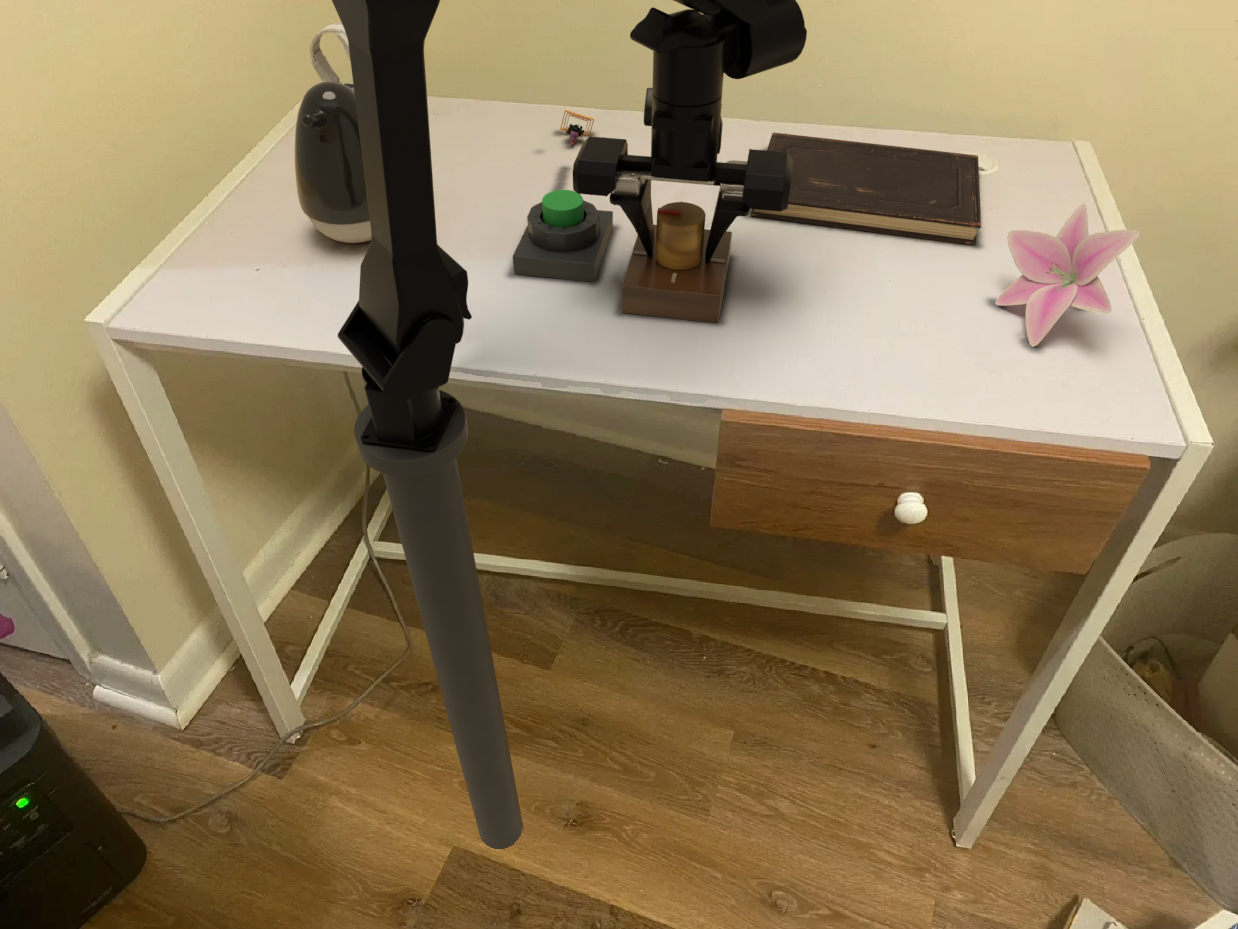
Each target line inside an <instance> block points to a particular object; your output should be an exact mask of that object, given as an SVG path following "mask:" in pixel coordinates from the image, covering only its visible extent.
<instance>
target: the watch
mask: <svg viewBox="0 0 1238 929" xmlns="http://www.w3.org/2000/svg"><path fill="white" fill-rule="evenodd" d="M325 34H337V35H336V37H337V39H338V40H339V41H340V42H341V44H342V45H343V49H344V51H345V54H346V56H347V58H348V60H349V61H350V52H349V44H348V39H347V35H346V32H345V29H344V27H343V24H342V22H334V23H330V24H328V25H326V26H324V27H323V28H322V29H321V30H320V31H319V32H318V33H316V34H315V36H314V37H313V38H312V39H311V42H310V46H309V54H310V59H311V60H310V61H311V64H312V66H313V68H314V71H315V72H316V73H317V75H318V77H319V78H320V80H321V82H327V81H331V82H337V83H340V84H343V85H345V86H347V87H348V88H350V89H351V90H352V91H353V92H354V85H353V83H345V82H344V83H343V82H342V81H340V80H341V78H340V77H339V75H338V74H337V73H336V71H335V70H334V68H332V66H331V64H330V63H329V61H328V59H327V57H326V55H325V54H323V50H322V48H321V47H320V45H321V38H322V37H323V35H325Z"/></svg>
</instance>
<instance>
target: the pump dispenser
mask: <svg viewBox="0 0 1238 929" xmlns="http://www.w3.org/2000/svg"><path fill="white" fill-rule="evenodd" d="M294 130H295V132H294V174H295V175H294V176H295V183H296V185H295V186H296V191H297V193H296V194H297V199H298V202H299V206H300V209H301V211H302V213H304V215H306V216H307V217H308V219H309V221H310V222H311V223H312V225H313V226H314V227H315V228H316V229H317V230H318V231H319V232H320V233H321V234H323V235H324V236H326V237H328V238H329V239H331V240H333V241H336V242H340V243H347V244H357V243H365V242H369V241H371V226H370V217H369V209H368V201H367V193H366V184H365V176H364V168H363V160H362V151H361V143H360V135H359V127H358V118H357V110H356V102H355V94H354V92H353V91H352V90H351V89H350V88H348V87H347V86H345V85H344V83H343V84H340V83H337V82H331V81H327V82H323V81H321V82H318V83H316V84H314V85H312V86H311V87H310V88H309V89H308V90H307V91H306V92H305V93H304V95H303V97H302V99H301V102H300V105H299V108H298V112H297V116H296V122H295V129H294Z"/></svg>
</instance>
